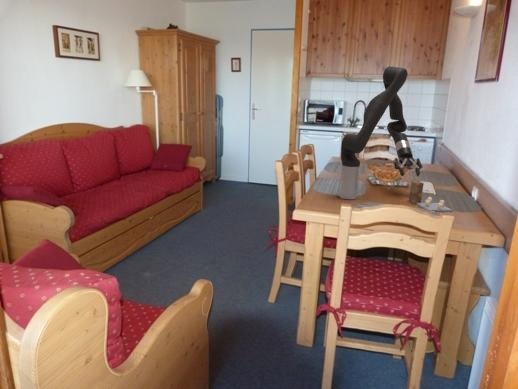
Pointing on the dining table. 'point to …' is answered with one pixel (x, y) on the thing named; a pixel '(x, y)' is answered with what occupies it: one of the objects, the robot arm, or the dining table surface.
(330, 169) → the dining table surface
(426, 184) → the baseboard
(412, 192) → the brown rectangular block
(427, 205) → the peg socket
